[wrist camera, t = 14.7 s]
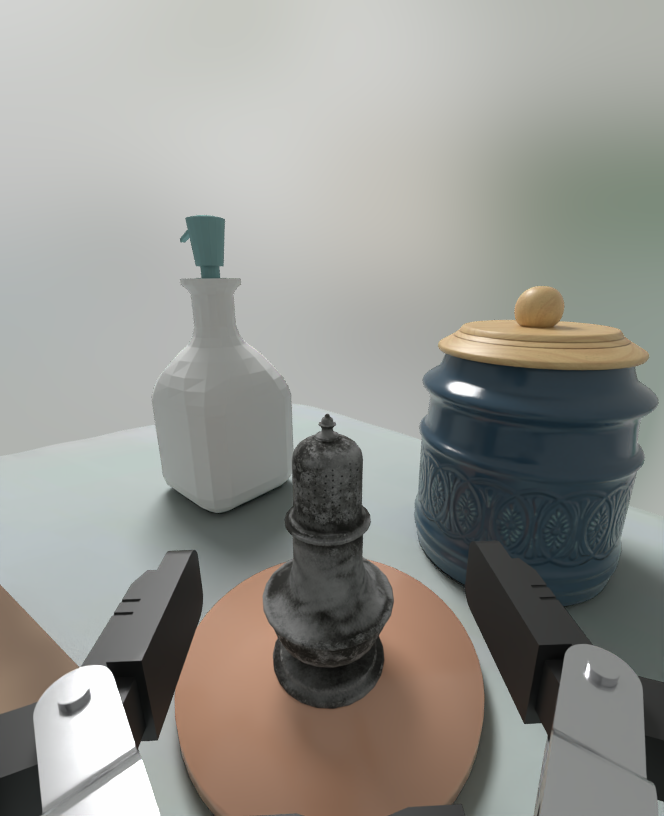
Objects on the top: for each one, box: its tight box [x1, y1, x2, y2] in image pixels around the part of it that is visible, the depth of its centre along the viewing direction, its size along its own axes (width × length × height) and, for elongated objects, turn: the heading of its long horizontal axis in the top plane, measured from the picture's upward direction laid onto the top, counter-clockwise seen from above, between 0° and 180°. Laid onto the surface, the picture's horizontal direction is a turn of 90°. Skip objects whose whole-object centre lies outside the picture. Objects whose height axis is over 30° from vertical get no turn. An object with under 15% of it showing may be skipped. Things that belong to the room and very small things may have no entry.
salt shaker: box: [262, 414, 394, 709], centre depth 17 cm, size 6×6×12 cm
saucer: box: [175, 560, 485, 816], centre depth 19 cm, size 14×14×1 cm
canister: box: [414, 286, 659, 606], centre depth 26 cm, size 13×13×18 cm
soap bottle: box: [151, 215, 293, 513], centre depth 34 cm, size 10×10×23 cm
